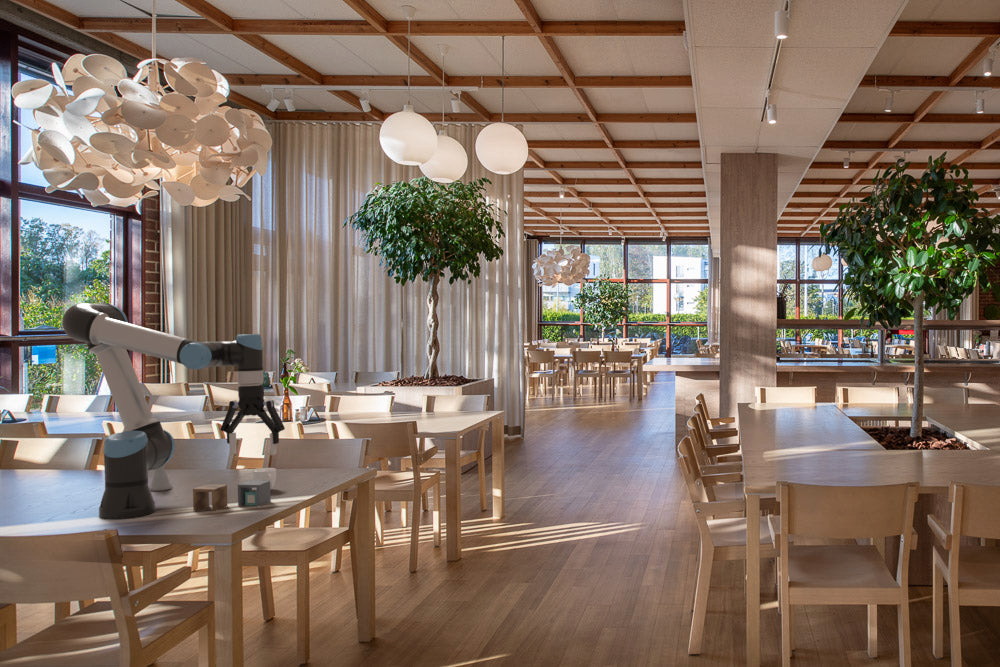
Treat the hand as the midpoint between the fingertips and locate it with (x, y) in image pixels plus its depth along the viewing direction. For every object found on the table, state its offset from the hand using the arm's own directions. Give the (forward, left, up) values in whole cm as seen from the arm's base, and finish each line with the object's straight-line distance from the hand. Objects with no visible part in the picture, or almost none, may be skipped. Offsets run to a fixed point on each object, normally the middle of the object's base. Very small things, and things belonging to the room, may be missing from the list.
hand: (253, 454), depth 265 cm
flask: (+17, +44, -15) cm, 50 cm away
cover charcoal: (0, 0, -15) cm, 15 cm away
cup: (+20, +7, -15) cm, 26 cm away
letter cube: (0, 0, -15) cm, 15 cm away
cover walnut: (-8, +10, -15) cm, 20 cm away
